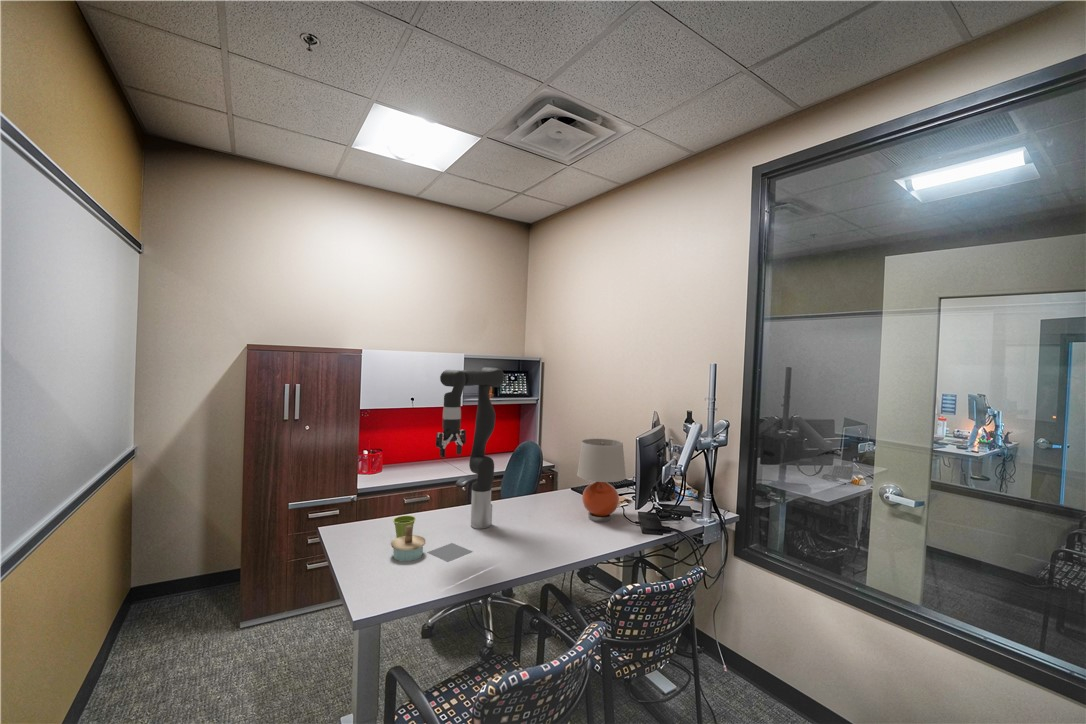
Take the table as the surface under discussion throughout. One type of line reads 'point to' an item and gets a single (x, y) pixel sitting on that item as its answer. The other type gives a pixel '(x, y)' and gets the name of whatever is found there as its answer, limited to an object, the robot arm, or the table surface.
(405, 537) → the lid
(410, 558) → the bowl
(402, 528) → the plant pot
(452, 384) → the robot arm
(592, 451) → the lamp
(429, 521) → the table surface
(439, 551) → the mat
